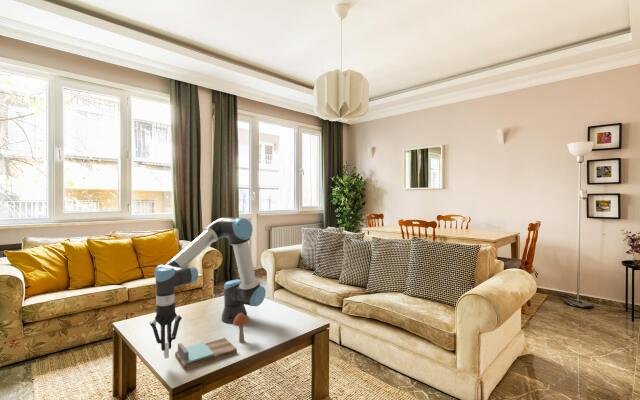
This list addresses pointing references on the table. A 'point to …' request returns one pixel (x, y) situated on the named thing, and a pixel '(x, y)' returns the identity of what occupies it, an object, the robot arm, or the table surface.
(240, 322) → the mushroom
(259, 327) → the table surface
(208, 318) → the table surface
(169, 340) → the robot arm
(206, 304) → the table surface
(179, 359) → the board
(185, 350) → the lid
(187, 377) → the table surface
